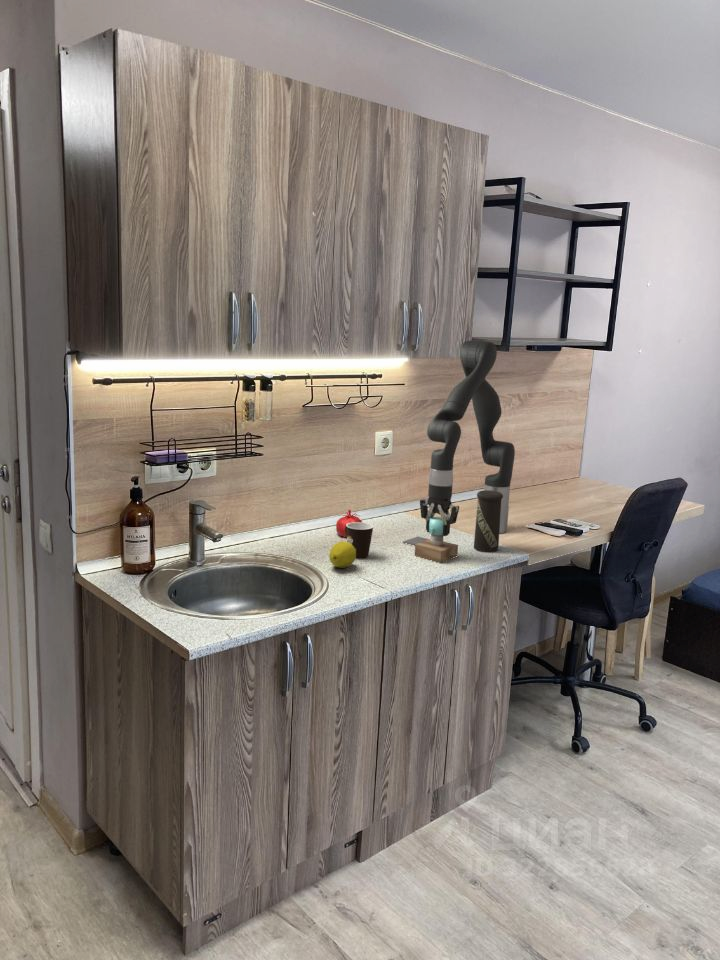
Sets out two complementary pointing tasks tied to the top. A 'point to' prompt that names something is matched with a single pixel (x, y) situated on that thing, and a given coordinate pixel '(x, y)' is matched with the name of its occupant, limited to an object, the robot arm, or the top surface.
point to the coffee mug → (359, 537)
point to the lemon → (342, 554)
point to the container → (488, 521)
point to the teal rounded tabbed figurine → (436, 526)
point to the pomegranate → (344, 521)
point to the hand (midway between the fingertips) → (437, 533)
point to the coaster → (415, 540)
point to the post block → (436, 549)
